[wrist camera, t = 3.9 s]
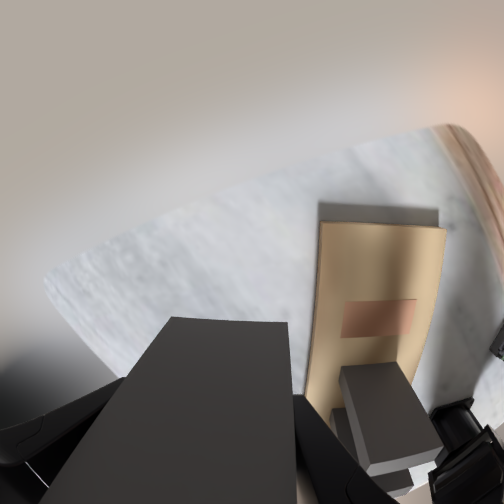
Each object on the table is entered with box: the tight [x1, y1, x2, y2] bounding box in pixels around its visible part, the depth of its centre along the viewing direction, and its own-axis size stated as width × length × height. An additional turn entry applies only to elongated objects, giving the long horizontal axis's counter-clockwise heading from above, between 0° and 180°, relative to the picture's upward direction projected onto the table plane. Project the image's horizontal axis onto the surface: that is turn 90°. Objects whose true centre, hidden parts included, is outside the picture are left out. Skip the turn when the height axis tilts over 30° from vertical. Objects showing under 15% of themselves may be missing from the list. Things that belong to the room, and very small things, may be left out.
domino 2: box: [338, 362, 444, 477], centre depth 15 cm, size 2×5×10 cm, turn 90°
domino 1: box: [39, 317, 297, 504], centre depth 7 cm, size 2×5×10 cm, turn 90°
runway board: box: [304, 221, 447, 429], centre depth 21 cm, size 10×29×1 cm, turn 0°
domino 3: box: [329, 407, 414, 498], centre depth 16 cm, size 2×5×10 cm, turn 90°
